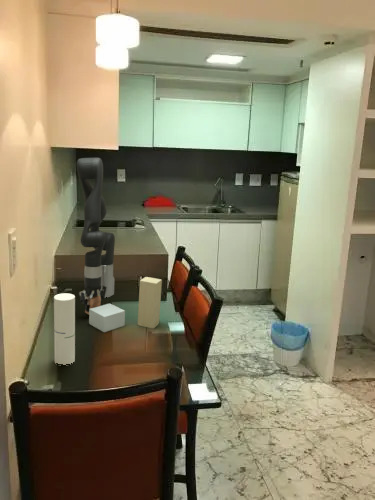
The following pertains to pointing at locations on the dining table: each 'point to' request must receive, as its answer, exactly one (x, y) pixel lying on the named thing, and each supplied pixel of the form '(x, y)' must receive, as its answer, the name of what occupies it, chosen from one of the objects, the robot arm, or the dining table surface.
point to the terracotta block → (94, 302)
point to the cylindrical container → (64, 328)
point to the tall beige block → (149, 302)
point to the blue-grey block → (106, 317)
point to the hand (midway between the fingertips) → (92, 309)
